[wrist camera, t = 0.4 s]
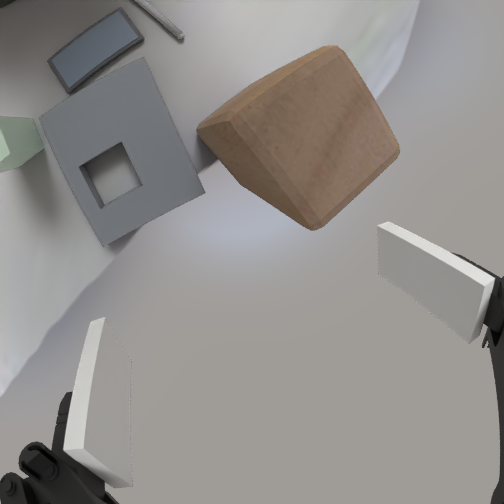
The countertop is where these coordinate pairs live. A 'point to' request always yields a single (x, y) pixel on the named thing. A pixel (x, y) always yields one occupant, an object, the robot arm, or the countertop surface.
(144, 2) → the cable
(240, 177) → the block
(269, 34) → the countertop surface
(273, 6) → the countertop surface
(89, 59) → the phone
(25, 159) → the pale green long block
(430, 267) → the robot arm
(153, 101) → the plate
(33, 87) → the countertop surface
